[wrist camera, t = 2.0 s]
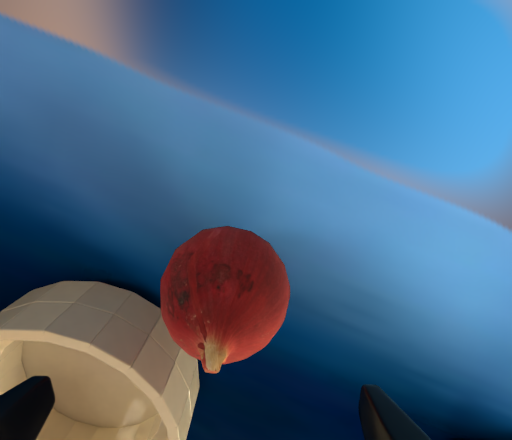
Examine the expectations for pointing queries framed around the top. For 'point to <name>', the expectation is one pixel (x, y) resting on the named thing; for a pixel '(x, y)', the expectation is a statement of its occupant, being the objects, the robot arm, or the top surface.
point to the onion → (224, 295)
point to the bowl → (99, 363)
